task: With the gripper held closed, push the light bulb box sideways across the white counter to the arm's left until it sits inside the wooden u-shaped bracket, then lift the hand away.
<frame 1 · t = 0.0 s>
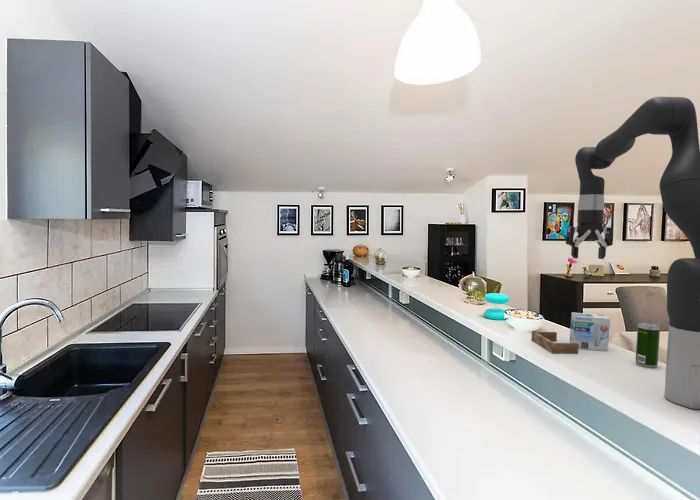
hand: (588, 258, 146), 29 cm above the worktop, tool pointing down, fingers open, 8 cm apart
green metal cylinder: (646, 365, 129), on the worktop
wooden u-shaped bracket: (559, 346, 147), on the worktop
light bulb box: (588, 347, 147), on the worktop
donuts: (495, 318, 189), on the worktop
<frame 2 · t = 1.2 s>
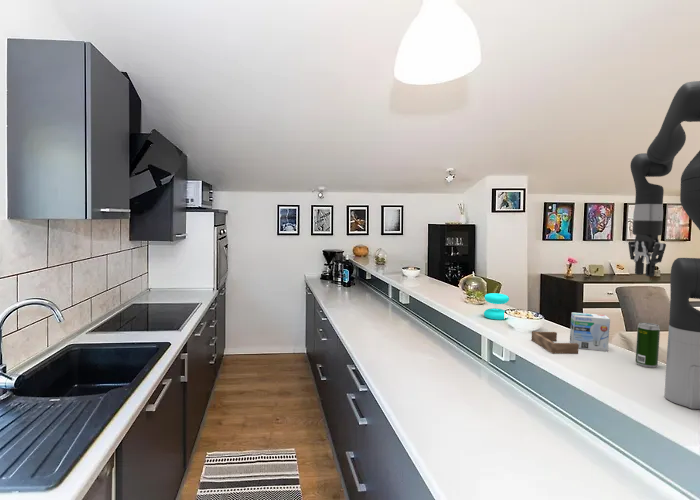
hand: (644, 275, 136), 25 cm above the worktop, tool pointing down, fingers open, 4 cm apart
nothing on the worktop moved.
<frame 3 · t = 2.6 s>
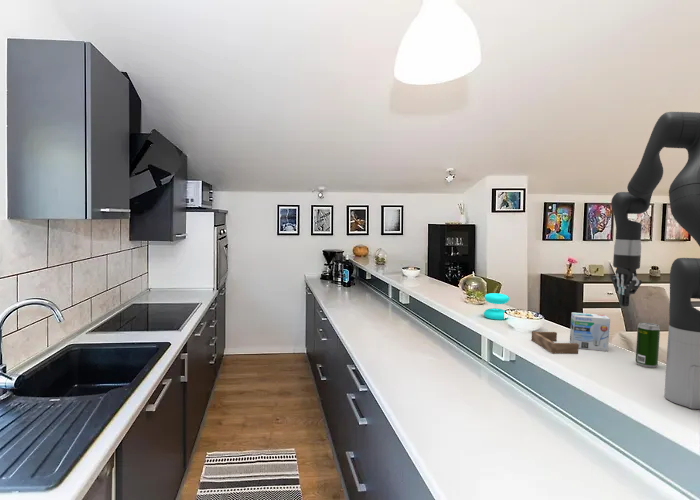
hand: (623, 305, 146), 14 cm above the worktop, tool pointing down, fingers closed
nothing on the worktop moved.
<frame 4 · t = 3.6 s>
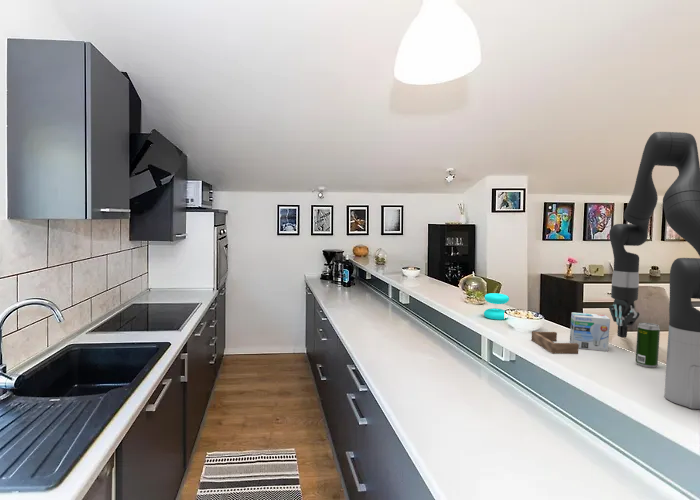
hand: (621, 336, 147), 4 cm above the worktop, tool pointing down, fingers closed
nothing on the worktop moved.
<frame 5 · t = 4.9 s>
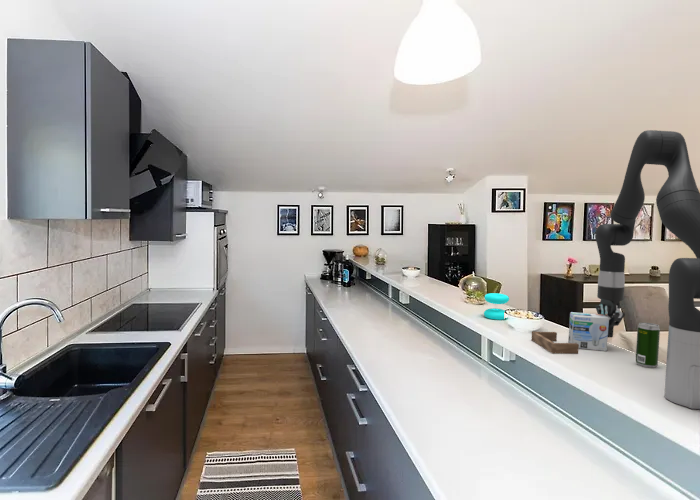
hand: (608, 336, 147), 4 cm above the worktop, tool pointing down, fingers closed
light bulb box: (587, 347, 147), on the worktop, touching gripper
everything else where it was.
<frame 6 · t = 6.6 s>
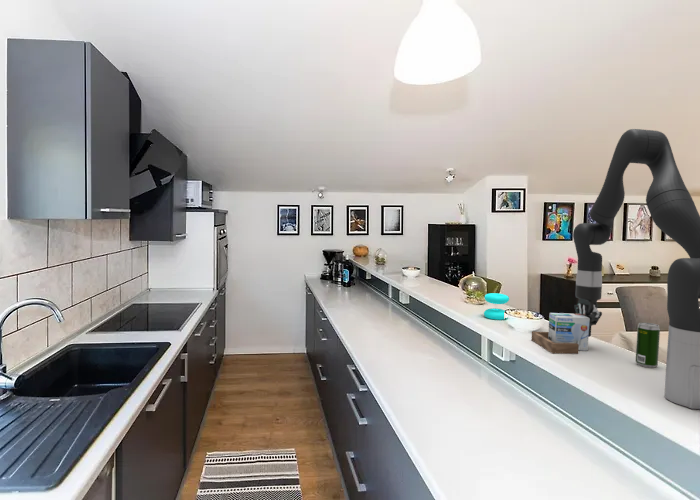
hand: (586, 336, 147), 4 cm above the worktop, tool pointing down, fingers closed
light bulb box: (567, 347, 146), on the worktop, touching gripper, hand
everything else where it was.
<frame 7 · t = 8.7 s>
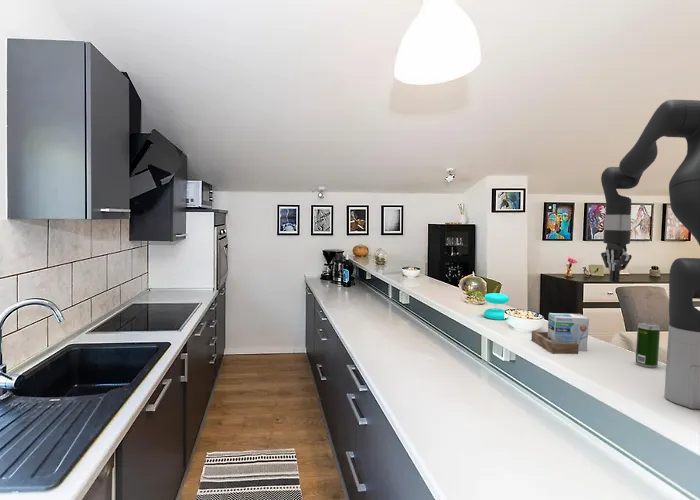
hand: (614, 282, 145), 22 cm above the worktop, tool pointing down, fingers closed
light bulb box: (566, 348, 146), on the worktop
everything else where it was.
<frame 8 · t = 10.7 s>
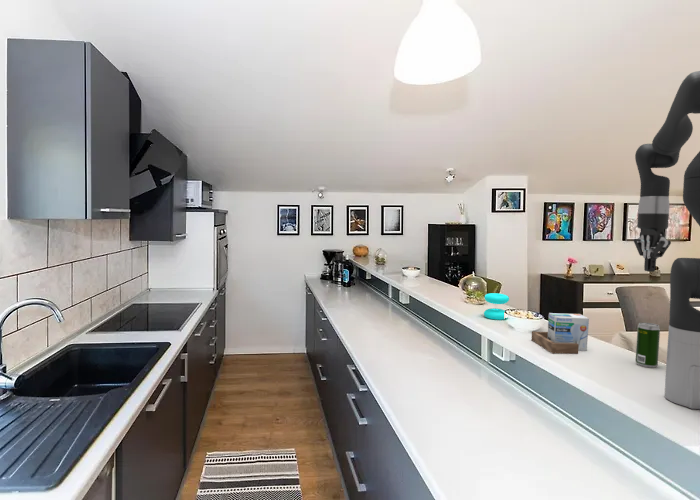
hand: (649, 271, 131), 27 cm above the worktop, tool pointing down, fingers closed
nothing on the worktop moved.
at the end: light bulb box inside the target area (2.3 cm from its centre), on the worktop; light bulb box tilted 0°; light bulb box moved 7.7 cm from its start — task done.
